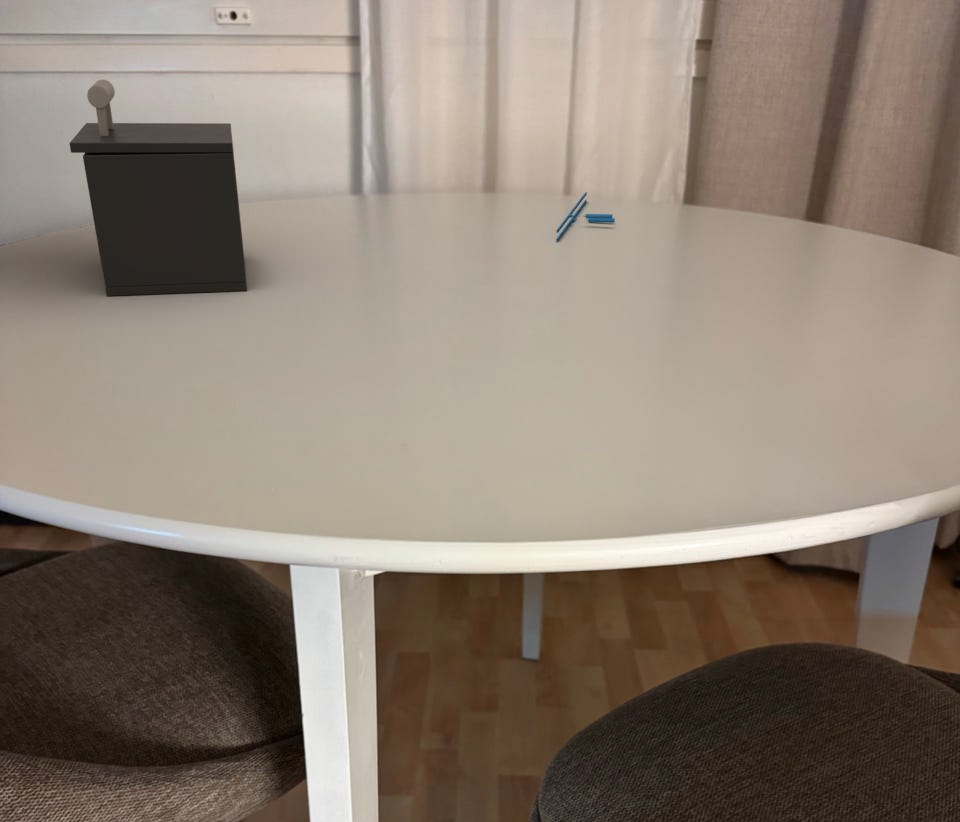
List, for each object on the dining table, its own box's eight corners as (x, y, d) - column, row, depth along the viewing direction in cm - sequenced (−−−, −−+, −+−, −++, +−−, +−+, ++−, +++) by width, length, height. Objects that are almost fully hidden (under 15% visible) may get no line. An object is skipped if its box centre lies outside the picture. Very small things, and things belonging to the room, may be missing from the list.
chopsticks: (625, 191, 138) (585, 190, 139) (603, 229, 117) (556, 229, 118) (625, 203, 139) (585, 202, 140) (602, 243, 118) (556, 242, 119)
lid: (70, 152, 90) (60, 89, 88) (87, 132, 101) (78, 75, 99) (233, 152, 93) (227, 90, 90) (231, 132, 104) (226, 77, 101)
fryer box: (106, 296, 97) (82, 155, 91) (118, 261, 108) (97, 134, 102) (247, 290, 99) (233, 153, 93) (244, 257, 110) (231, 133, 104)
